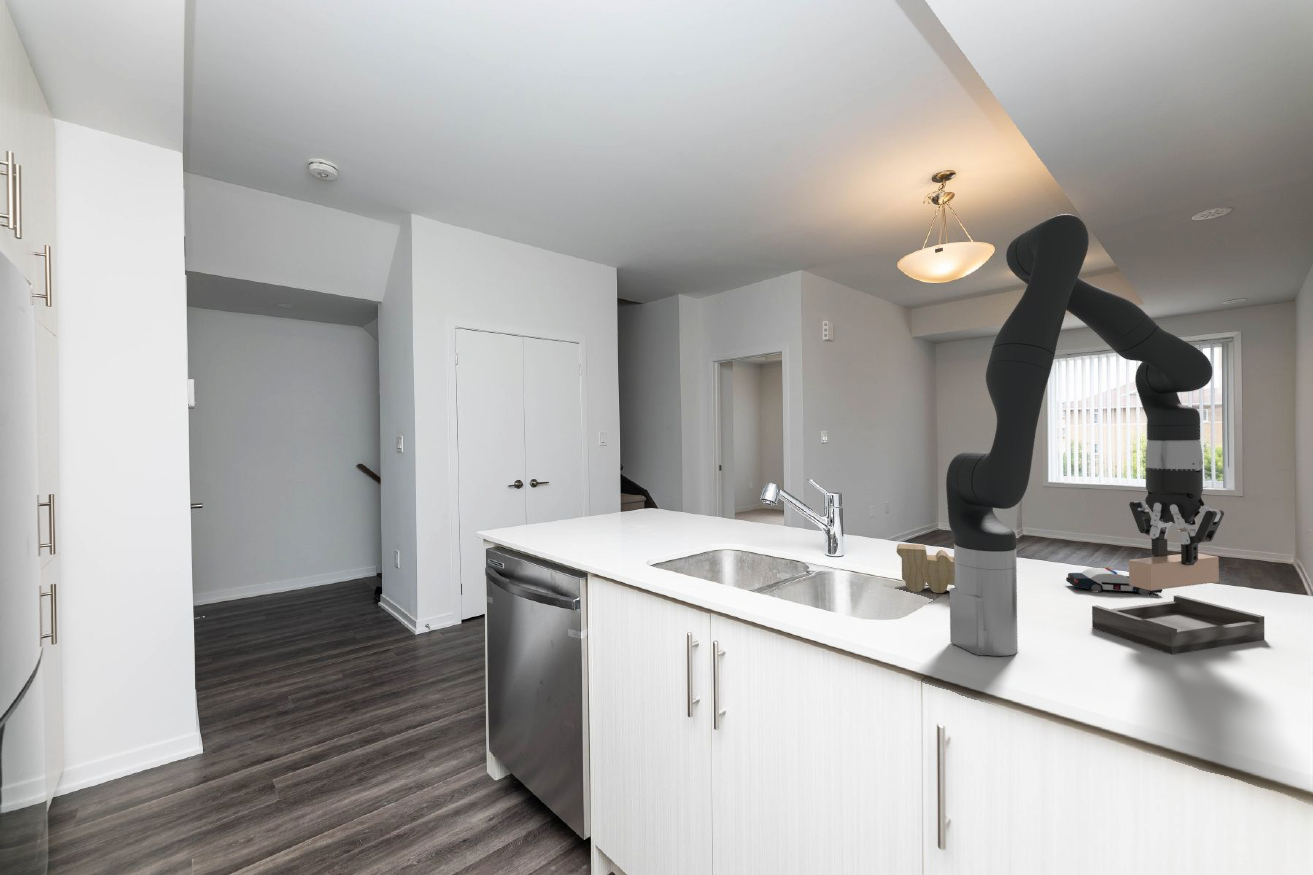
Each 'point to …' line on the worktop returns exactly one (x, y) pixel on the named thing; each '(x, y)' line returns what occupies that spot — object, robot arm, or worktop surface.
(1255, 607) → the worktop surface
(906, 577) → the toy train
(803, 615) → the worktop surface
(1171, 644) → the charcoal tray
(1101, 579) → the toy car
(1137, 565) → the tan rectangular block
